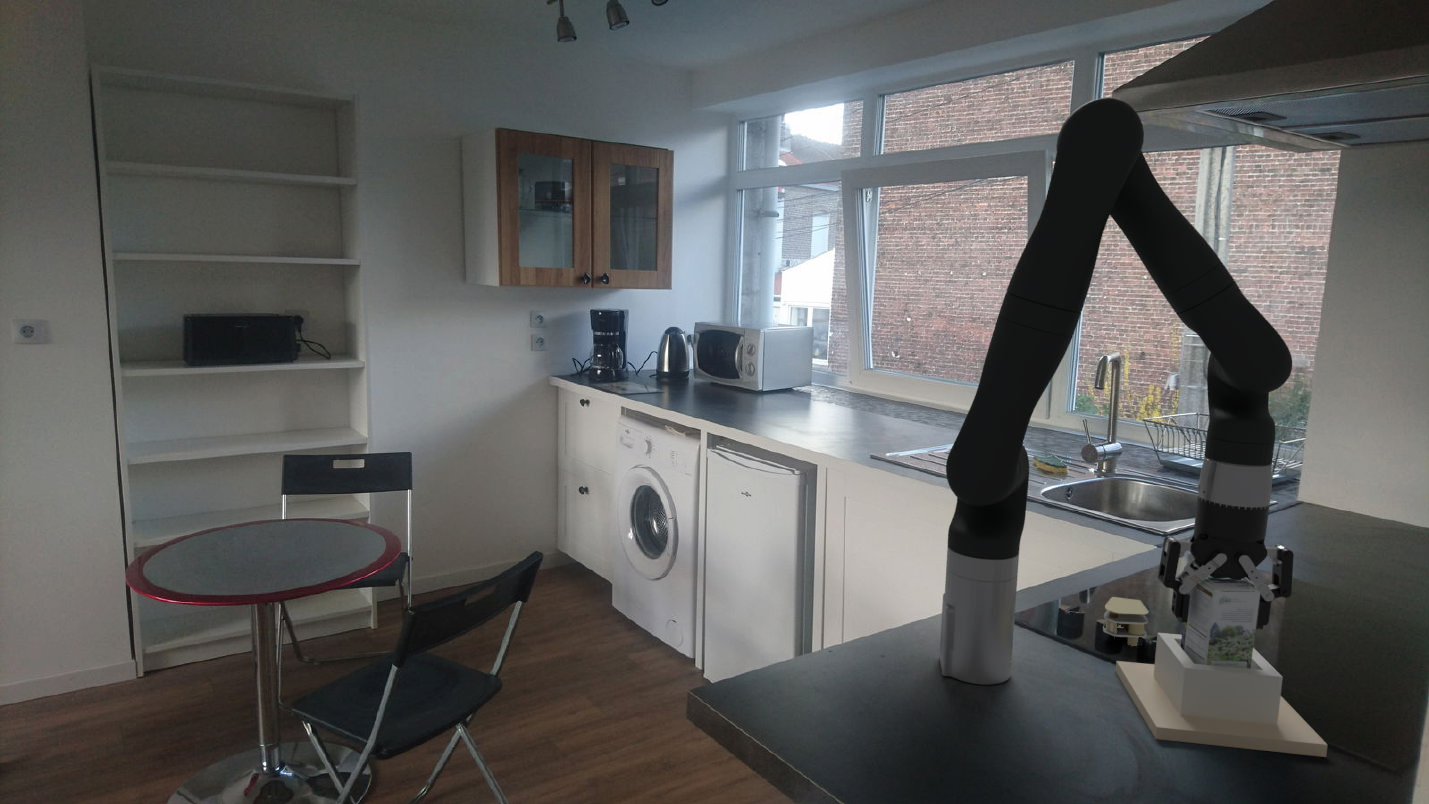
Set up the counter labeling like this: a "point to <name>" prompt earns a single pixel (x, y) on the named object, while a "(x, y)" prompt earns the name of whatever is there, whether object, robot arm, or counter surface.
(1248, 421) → the robot arm
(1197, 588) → the syrup box
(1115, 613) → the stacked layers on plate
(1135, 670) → the sleeve
